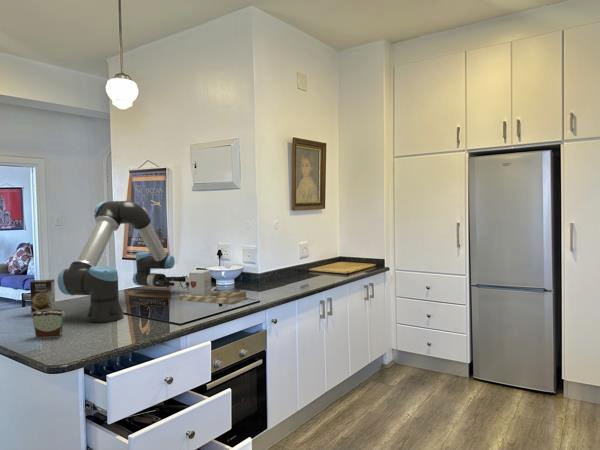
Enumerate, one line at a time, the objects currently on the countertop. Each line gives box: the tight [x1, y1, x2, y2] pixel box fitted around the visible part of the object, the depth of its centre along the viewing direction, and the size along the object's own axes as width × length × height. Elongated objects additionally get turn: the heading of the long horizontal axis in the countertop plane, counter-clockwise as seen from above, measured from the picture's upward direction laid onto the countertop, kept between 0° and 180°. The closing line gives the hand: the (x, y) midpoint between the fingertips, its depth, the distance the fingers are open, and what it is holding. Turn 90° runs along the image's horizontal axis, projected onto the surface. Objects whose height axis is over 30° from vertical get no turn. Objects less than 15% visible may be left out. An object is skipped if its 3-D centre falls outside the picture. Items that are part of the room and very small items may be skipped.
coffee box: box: [29, 279, 56, 315], centre depth 210 cm, size 9×6×16 cm
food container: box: [30, 308, 66, 339], centre depth 175 cm, size 12×6×10 cm, turn 92°
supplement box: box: [188, 269, 212, 297], centre depth 240 cm, size 9×9×15 cm
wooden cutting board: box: [179, 289, 247, 305], centre depth 239 cm, size 32×20×4 cm, turn 66°
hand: (187, 282), depth 243 cm, fingers open, 13 cm apart
